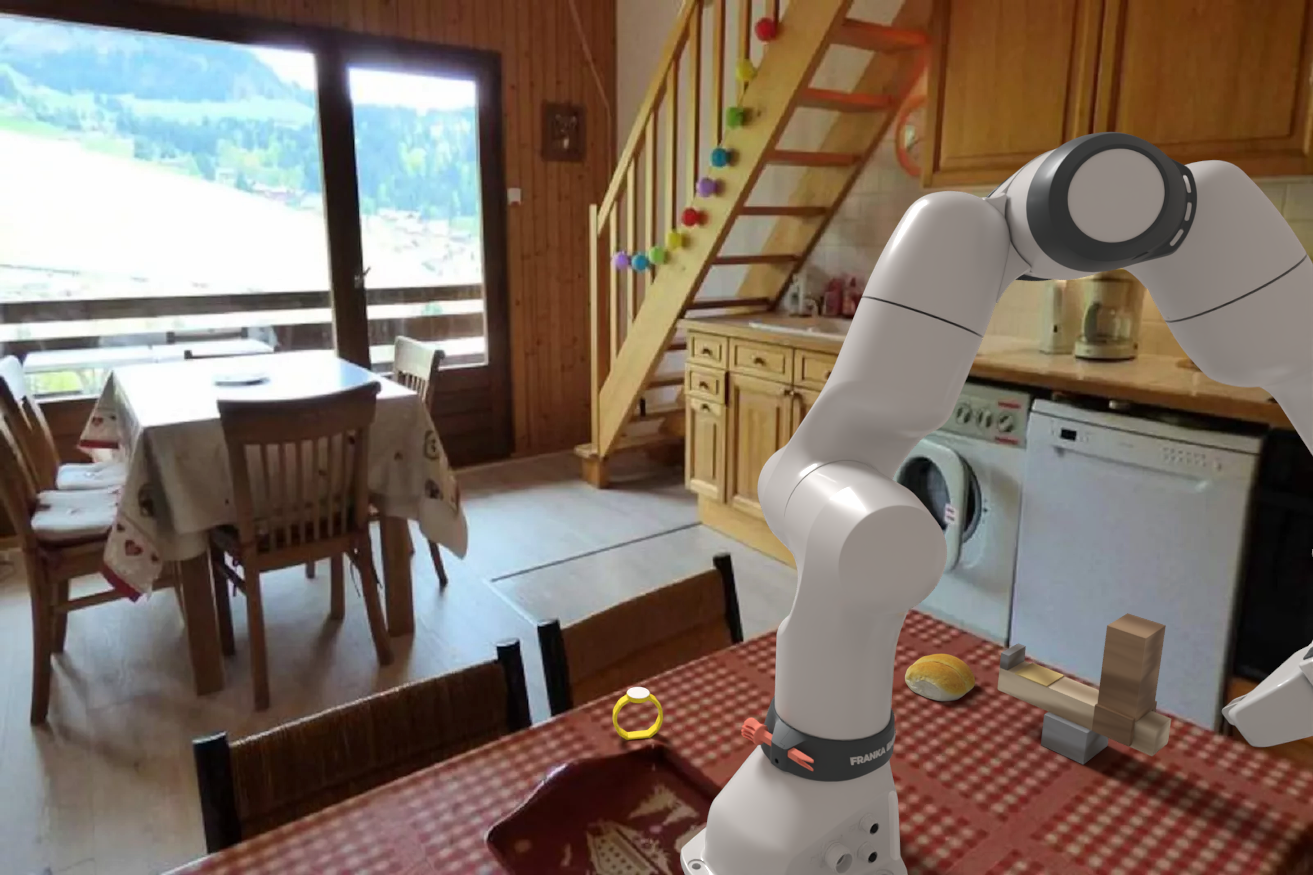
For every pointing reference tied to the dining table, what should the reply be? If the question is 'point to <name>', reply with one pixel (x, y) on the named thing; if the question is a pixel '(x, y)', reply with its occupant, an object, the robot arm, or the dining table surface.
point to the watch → (637, 697)
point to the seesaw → (1070, 709)
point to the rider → (1128, 676)
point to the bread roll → (940, 677)
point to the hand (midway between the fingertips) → (1230, 713)
